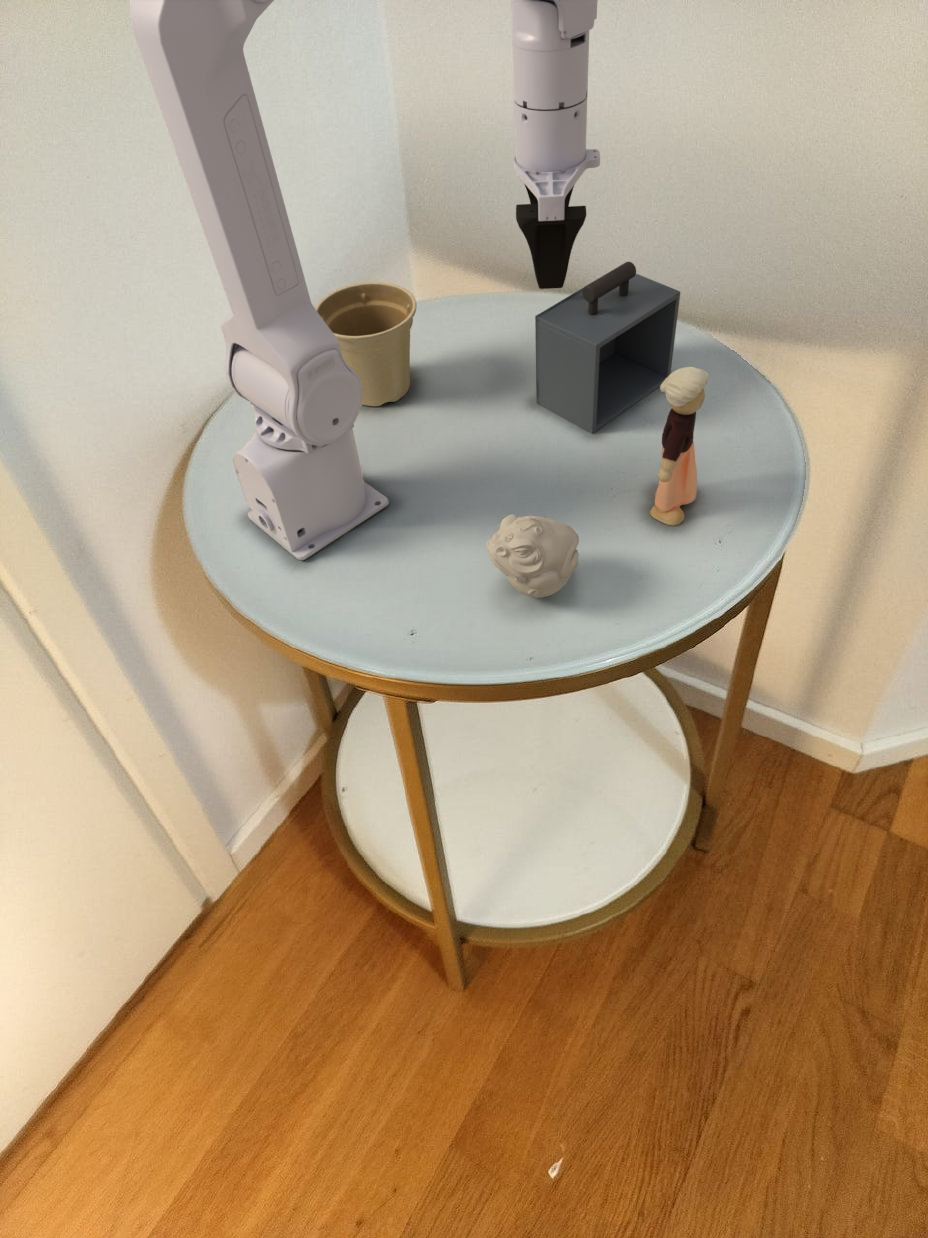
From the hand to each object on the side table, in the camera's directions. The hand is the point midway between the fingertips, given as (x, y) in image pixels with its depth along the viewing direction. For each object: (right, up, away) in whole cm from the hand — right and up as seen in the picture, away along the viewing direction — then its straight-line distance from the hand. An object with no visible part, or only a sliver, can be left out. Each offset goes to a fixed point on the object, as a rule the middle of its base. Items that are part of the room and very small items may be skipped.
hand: (550, 264), depth 78 cm
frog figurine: (-2, -30, -11) cm, 32 cm away
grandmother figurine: (+9, -22, -6) cm, 25 cm away
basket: (+3, -5, +2) cm, 6 cm away
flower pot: (-16, -9, +7) cm, 20 cm away
